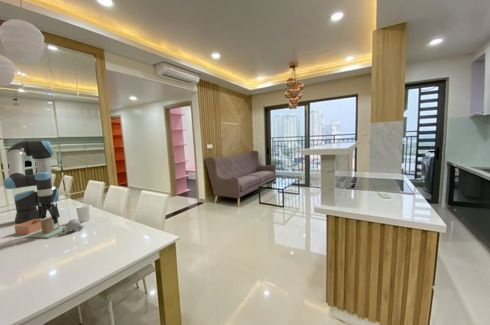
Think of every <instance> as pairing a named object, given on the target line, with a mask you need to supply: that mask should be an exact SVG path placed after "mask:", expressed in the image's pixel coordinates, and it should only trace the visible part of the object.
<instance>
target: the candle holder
mask: <svg viewBox="0 0 490 325" xmlns="http://www.w3.org/2000/svg"><path fill="white" fill-rule="evenodd" d="M92 205H93V204H90V203H86V204H80V205H77V206H76V207H75V209H76V213H77V214H76V215H77V220H79V221H80V223H86V222H89V221H92V220H93V207H92Z"/></svg>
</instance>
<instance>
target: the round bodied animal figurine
mask: <svg viewBox="0 0 490 325" xmlns="http://www.w3.org/2000/svg"><path fill="white" fill-rule="evenodd" d="M81 223H82V222H80V221H79V219H78V218H73V219H71V220H69V221H68V222H67V224H66V226H67V227H62V228H63V229H62V233H61V232H60V234H59V235H62V236H66V235H67V234H68V233H69V232H70V231H72V232H74V233H77V232H79V231H80V230H82V229H83V228H84V225H83V224H81Z"/></svg>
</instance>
